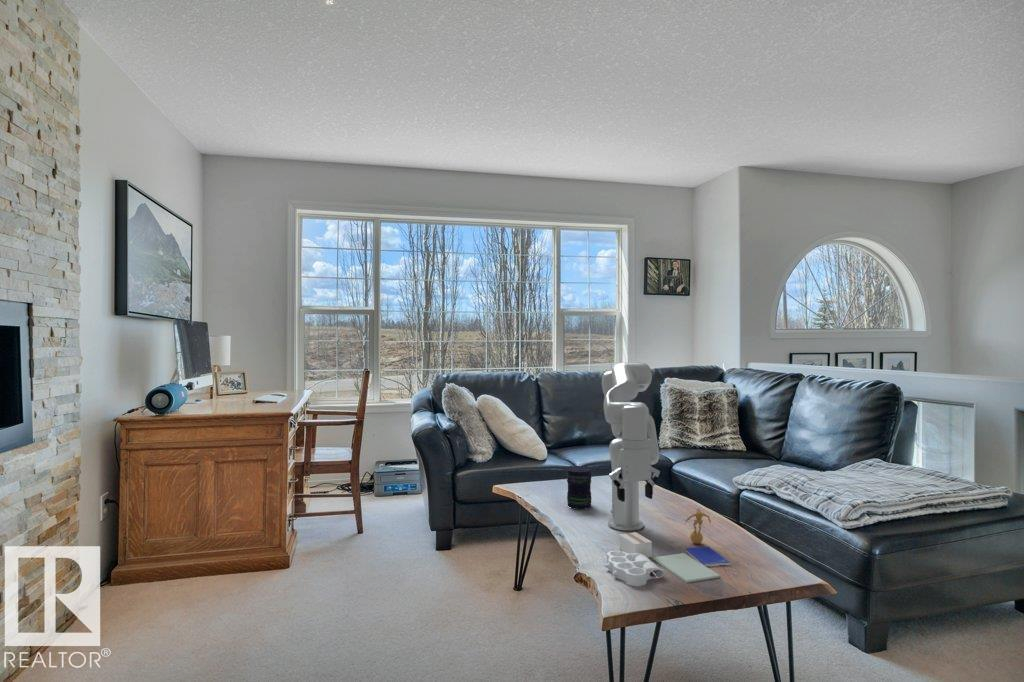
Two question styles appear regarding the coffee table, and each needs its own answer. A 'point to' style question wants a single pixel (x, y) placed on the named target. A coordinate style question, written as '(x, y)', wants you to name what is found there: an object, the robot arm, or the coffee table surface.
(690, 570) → the mat
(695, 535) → the figurine
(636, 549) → the card box
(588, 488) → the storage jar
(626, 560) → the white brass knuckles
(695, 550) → the hard drive
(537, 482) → the coffee table surface
